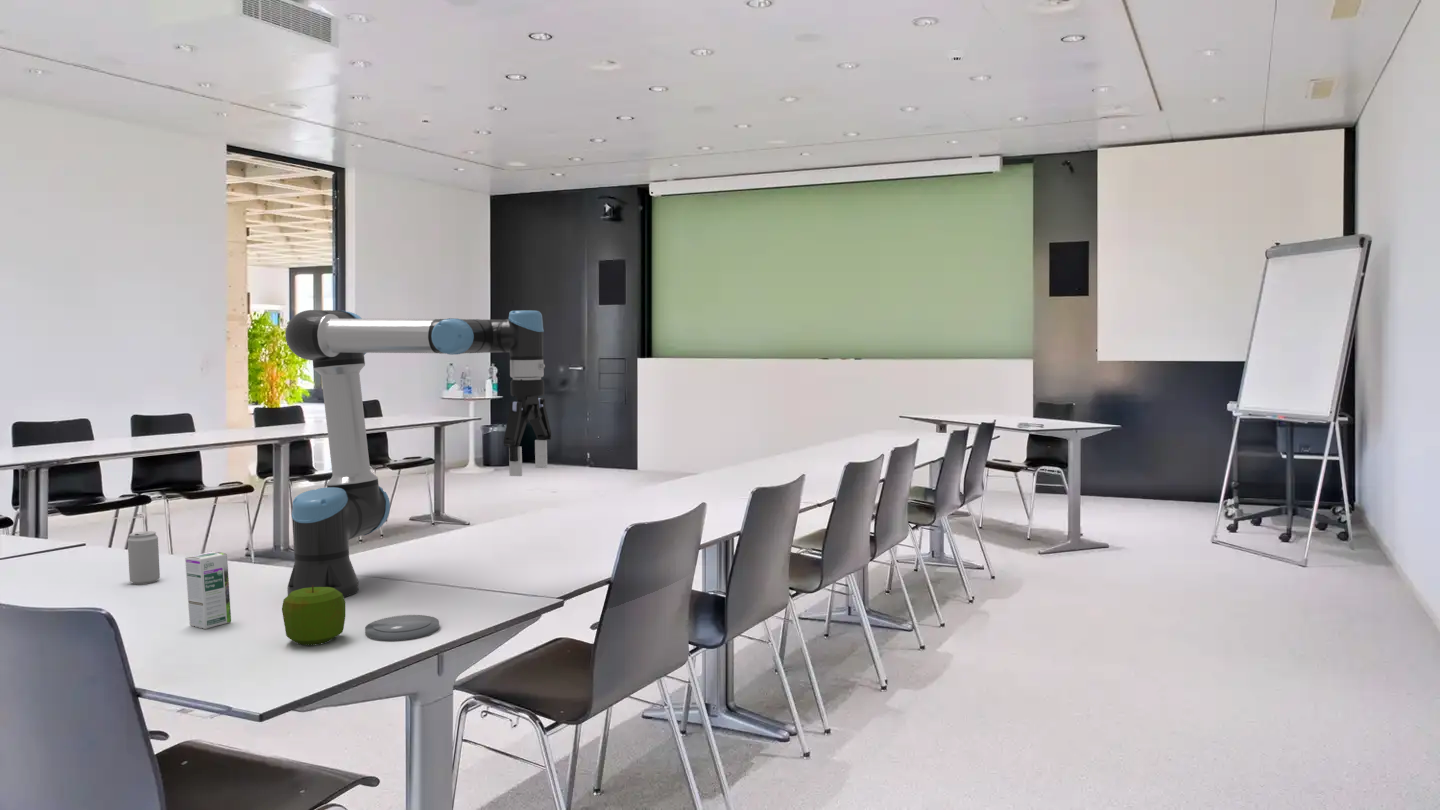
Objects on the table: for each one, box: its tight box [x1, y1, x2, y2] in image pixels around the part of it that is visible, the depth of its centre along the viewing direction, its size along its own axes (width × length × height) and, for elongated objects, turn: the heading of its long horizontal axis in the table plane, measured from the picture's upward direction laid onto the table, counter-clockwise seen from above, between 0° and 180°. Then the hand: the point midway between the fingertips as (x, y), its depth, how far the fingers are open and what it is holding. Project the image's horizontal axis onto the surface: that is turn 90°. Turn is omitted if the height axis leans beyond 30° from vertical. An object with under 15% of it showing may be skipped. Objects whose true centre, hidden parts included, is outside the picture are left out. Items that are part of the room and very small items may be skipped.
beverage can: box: [127, 530, 161, 586], centre depth 249 cm, size 6×6×12 cm
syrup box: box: [184, 550, 232, 630], centre depth 211 cm, size 6×6×14 cm
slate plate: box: [364, 614, 440, 642], centre depth 204 cm, size 14×14×2 cm
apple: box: [281, 586, 346, 646], centre depth 198 cm, size 11×11×11 cm
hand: (529, 471), depth 235 cm, fingers open, 13 cm apart
